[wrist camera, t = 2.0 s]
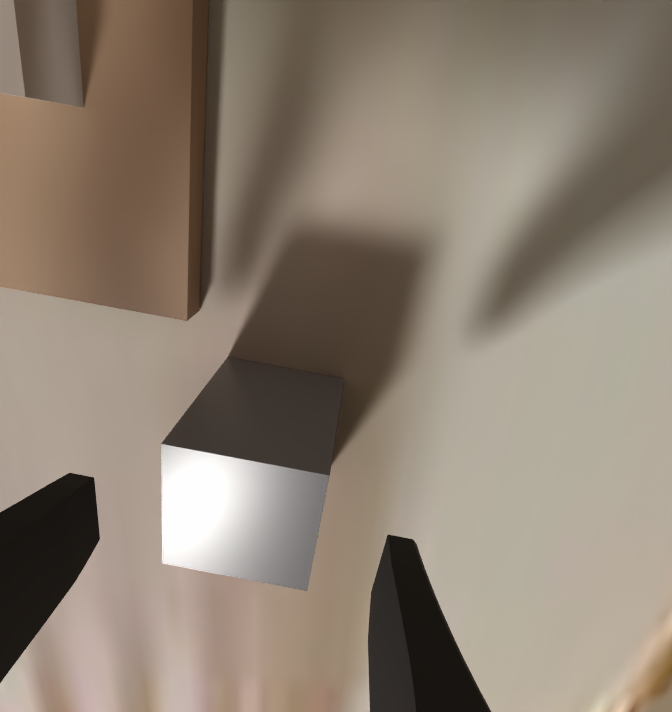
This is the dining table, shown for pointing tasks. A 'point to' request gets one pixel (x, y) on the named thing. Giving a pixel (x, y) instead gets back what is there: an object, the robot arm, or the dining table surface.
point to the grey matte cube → (250, 473)
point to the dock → (103, 151)
